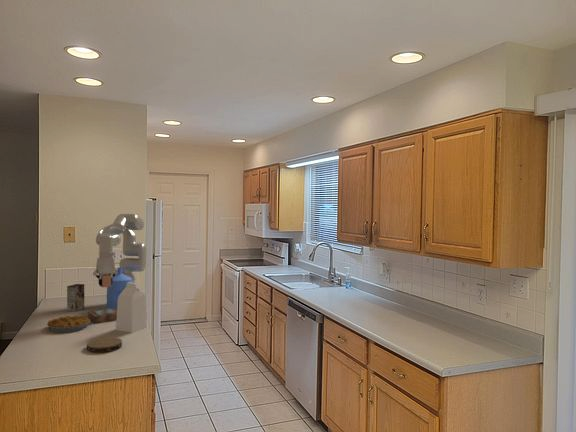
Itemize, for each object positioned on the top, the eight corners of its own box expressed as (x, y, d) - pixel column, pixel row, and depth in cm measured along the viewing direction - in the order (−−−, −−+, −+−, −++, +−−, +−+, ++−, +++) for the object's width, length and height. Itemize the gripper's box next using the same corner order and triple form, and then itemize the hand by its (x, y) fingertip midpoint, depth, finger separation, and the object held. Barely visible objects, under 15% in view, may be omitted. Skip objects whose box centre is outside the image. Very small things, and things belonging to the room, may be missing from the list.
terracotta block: (108, 285, 270) (108, 274, 270) (111, 286, 267) (111, 275, 266) (99, 286, 267) (100, 274, 267) (102, 287, 263) (102, 275, 263)
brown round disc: (107, 341, 227) (108, 335, 227) (128, 346, 219) (128, 340, 219) (79, 349, 213) (79, 343, 213) (100, 356, 205) (100, 349, 205)
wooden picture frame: (114, 314, 278) (114, 307, 278) (122, 319, 267) (122, 312, 267) (87, 318, 268) (87, 311, 268) (94, 323, 257) (95, 315, 257)
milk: (146, 327, 251) (147, 282, 251) (131, 332, 241) (132, 285, 240) (131, 324, 256) (131, 280, 256) (115, 329, 246) (116, 283, 245)
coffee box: (76, 307, 294) (76, 283, 293) (84, 308, 292) (84, 284, 292) (66, 310, 285) (66, 286, 284) (75, 311, 283) (75, 286, 283)
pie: (96, 328, 249) (96, 319, 249) (55, 336, 233) (55, 326, 232) (80, 320, 264) (80, 312, 263) (41, 327, 247) (41, 318, 247)
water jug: (100, 311, 285) (101, 268, 284) (118, 306, 299) (119, 265, 298) (119, 314, 279) (120, 270, 278) (136, 309, 293) (137, 267, 292)
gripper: (117, 253, 275) (117, 282, 275) (89, 255, 264) (88, 285, 264) (122, 255, 269) (121, 284, 270) (93, 256, 258) (92, 287, 259)
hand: (105, 284), depth 267 cm, fingers closed on terracotta block, 5 cm apart
